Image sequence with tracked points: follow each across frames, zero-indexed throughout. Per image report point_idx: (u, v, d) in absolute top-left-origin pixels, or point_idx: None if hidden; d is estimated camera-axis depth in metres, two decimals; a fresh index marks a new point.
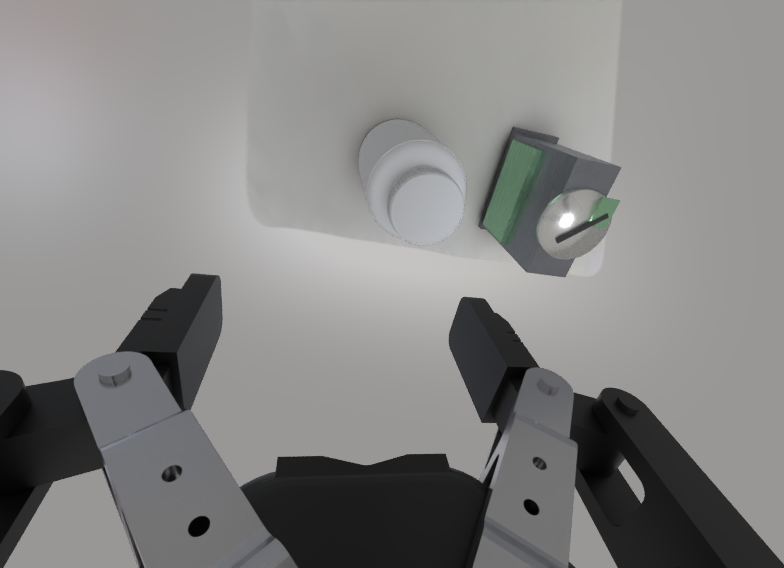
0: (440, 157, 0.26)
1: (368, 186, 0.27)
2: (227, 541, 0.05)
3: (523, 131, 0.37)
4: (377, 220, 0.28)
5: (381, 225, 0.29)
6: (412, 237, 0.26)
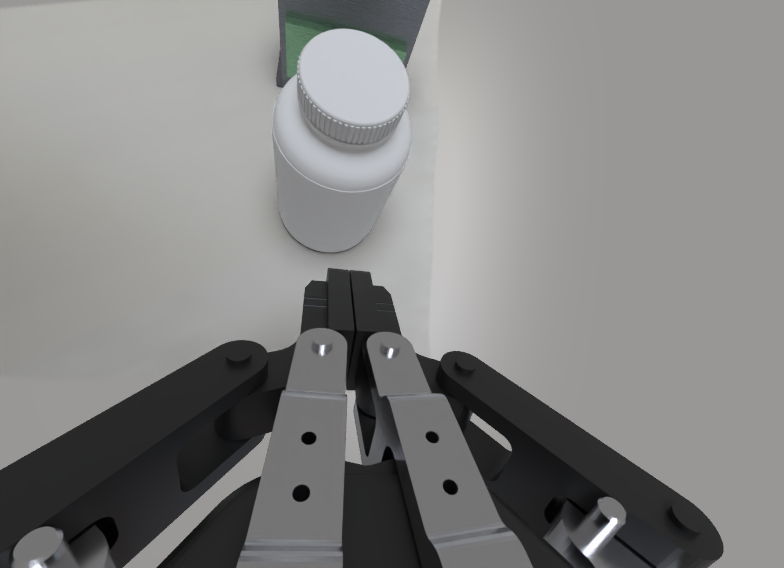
0: (288, 91, 0.19)
1: (341, 188, 0.19)
2: (310, 521, 0.05)
3: (279, 71, 0.32)
4: (388, 173, 0.20)
5: (394, 167, 0.20)
6: (398, 94, 0.17)
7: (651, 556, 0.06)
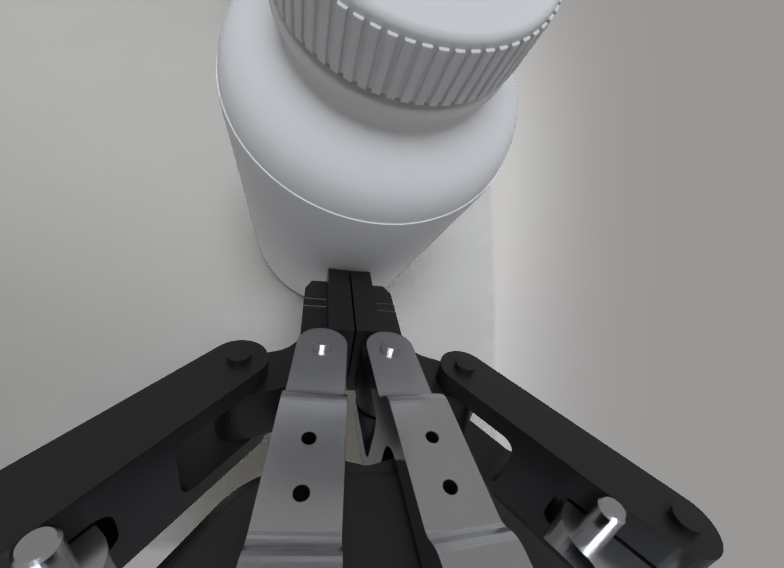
0: None
1: (378, 218, 0.08)
2: (310, 521, 0.05)
3: None
4: (478, 180, 0.09)
5: (491, 168, 0.09)
6: None
7: (651, 556, 0.06)
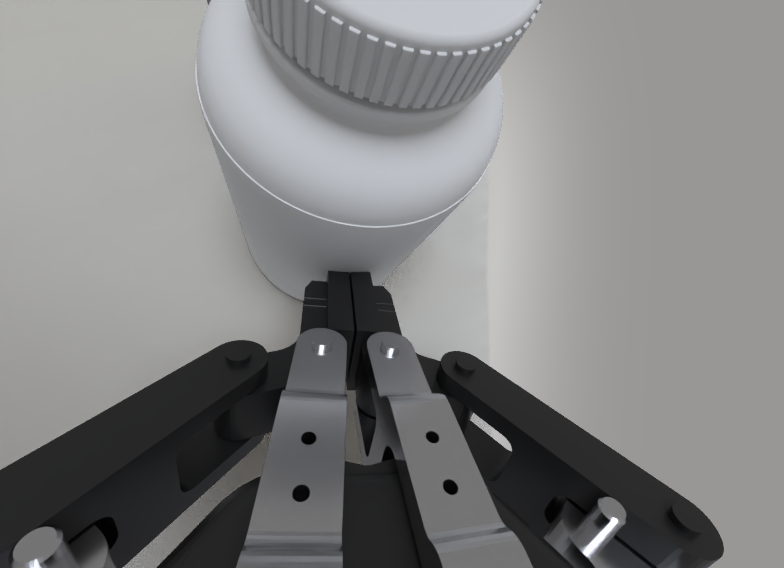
0: (222, 4, 0.08)
1: (382, 221, 0.09)
2: (310, 522, 0.05)
3: None
4: (475, 172, 0.09)
5: (485, 158, 0.09)
6: None
7: (651, 556, 0.06)
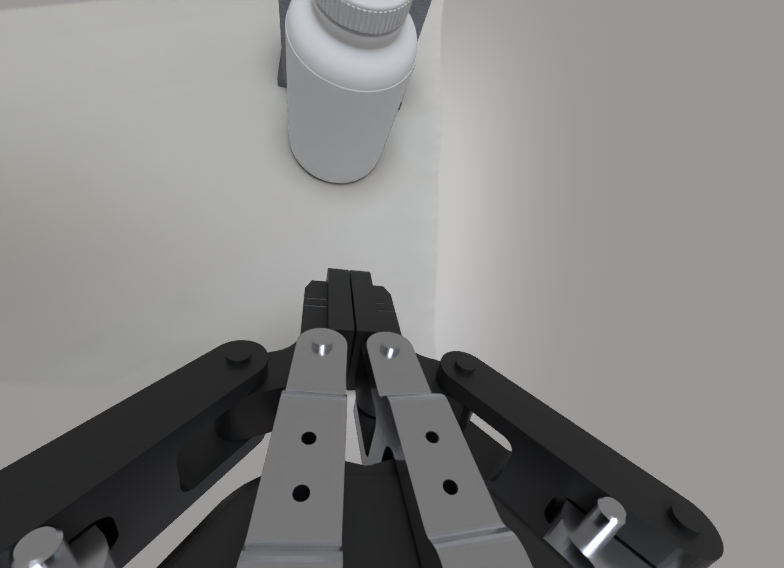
0: None
1: (360, 88, 0.21)
2: (310, 522, 0.05)
3: (280, 70, 0.31)
4: (401, 70, 0.21)
5: (406, 64, 0.21)
6: None
7: (651, 556, 0.06)
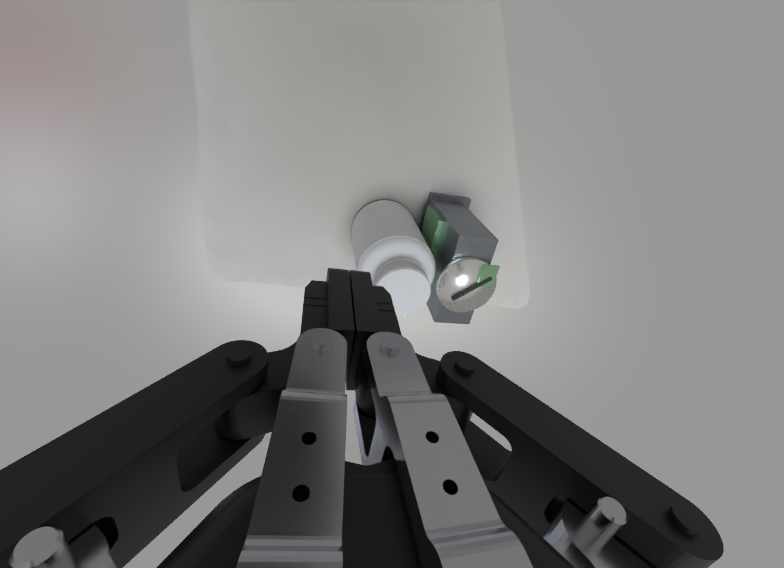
0: (407, 248, 0.34)
1: None
2: (310, 521, 0.05)
3: (438, 196, 0.44)
4: None
5: None
6: None
7: (651, 556, 0.06)
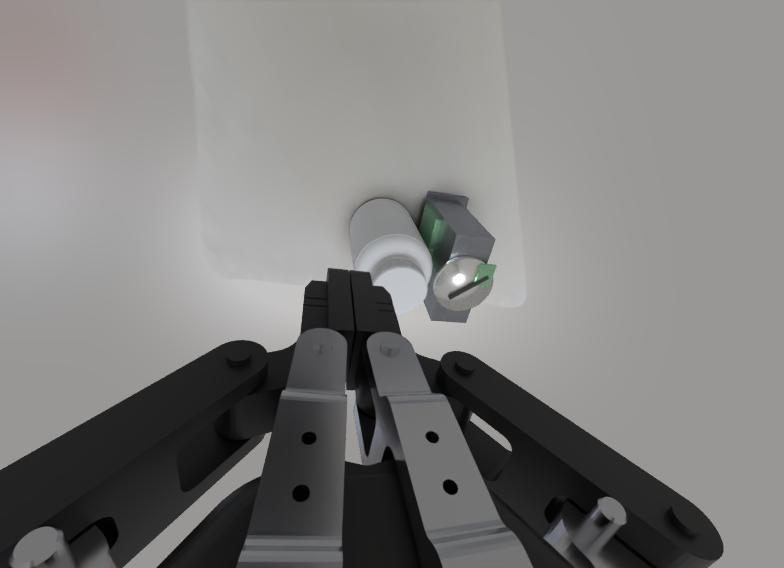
0: (405, 246, 0.34)
1: None
2: (310, 521, 0.05)
3: (436, 195, 0.44)
4: None
5: None
6: None
7: (651, 556, 0.06)
